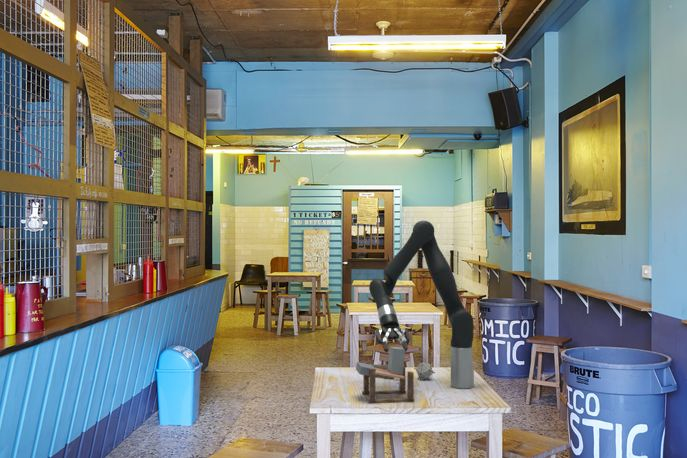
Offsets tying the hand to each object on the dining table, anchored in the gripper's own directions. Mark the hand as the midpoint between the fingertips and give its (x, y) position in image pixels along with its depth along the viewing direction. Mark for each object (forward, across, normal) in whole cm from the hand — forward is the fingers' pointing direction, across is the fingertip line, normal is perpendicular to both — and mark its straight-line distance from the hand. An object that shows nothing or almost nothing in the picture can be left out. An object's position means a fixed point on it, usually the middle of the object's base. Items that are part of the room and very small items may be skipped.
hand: (396, 350), depth 245 cm
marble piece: (-17, +6, +45) cm, 49 cm away
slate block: (+2, 0, +4) cm, 5 cm away
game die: (-8, +23, +35) cm, 43 cm away
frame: (+12, -3, +15) cm, 19 cm away
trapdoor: (+6, -6, +8) cm, 12 cm away
